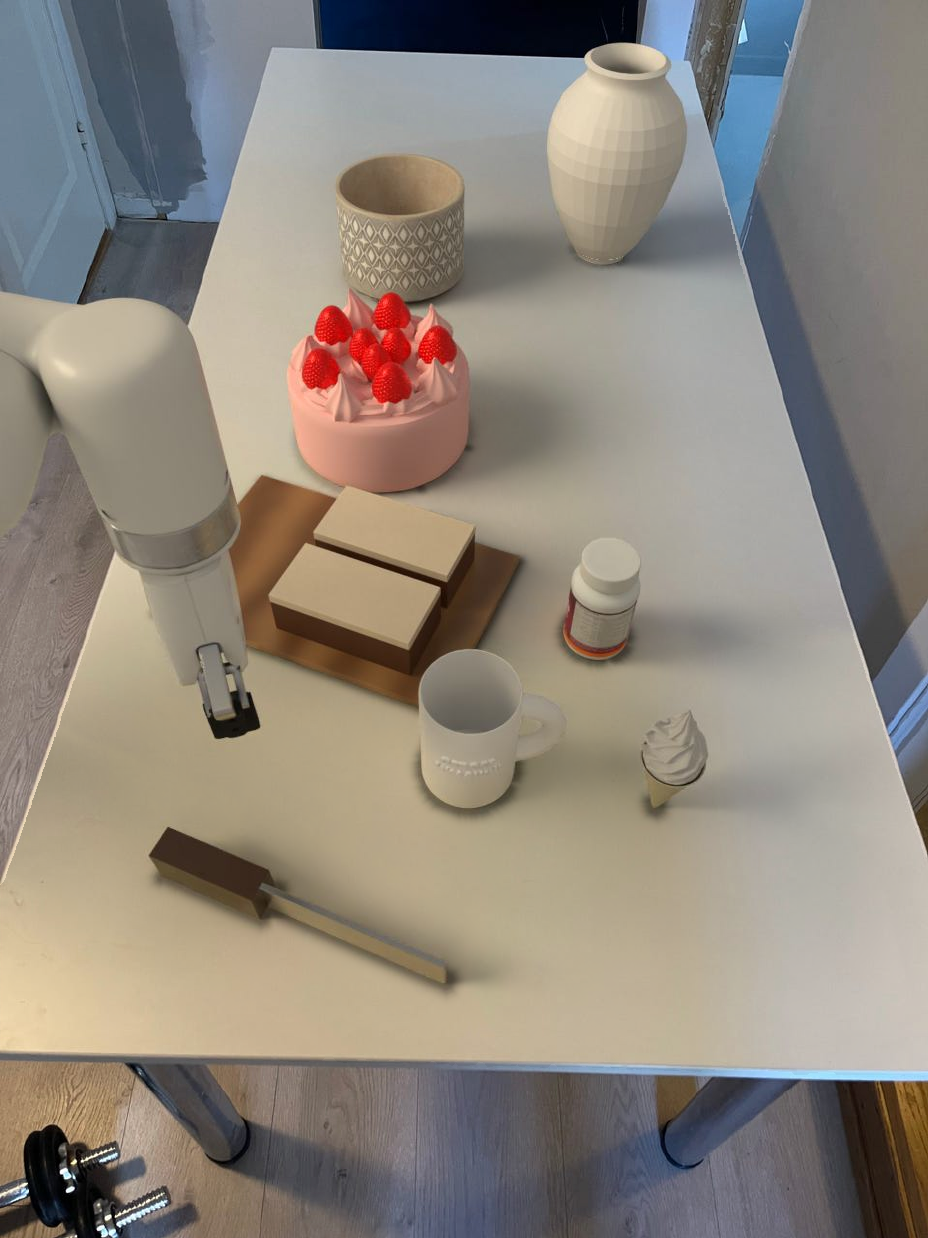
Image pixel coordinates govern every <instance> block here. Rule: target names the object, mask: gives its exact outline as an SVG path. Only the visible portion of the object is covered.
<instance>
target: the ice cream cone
mask: <svg viewBox="0 0 928 1238" xmlns="http://www.w3.org/2000/svg"><path fill="white" fill-rule="evenodd" d="M643 740H644V741H643V743H641V744H640V755H639V756H640V757H639V758H640V761H641V762H640V763H641V764H642V767H643V769H644V774H645V779H646V785H647V789H648V794H649V799H650V805H651V808H654V809H657V808H658V807H659V806H661V805H662V804H664V803H666V802H667V801H669V800H670V799H671V798H674V796H676V795H677V794H679V793H680V792H682V791H683V790H685V789H686V788H687V787H691V786H692V785H694V784H695V783H697V782H698V781H699V780H700V779H702V778H703V776H704V774H705V771H706V767H707V760H708V757H709V751H708V745H707V740H706V737H705V735H704V734H703V732H702V731H701V730H700V729H699V727H698V724H697V721H696V720H695V719H694V716H693V713H692V709H688V710H686V711H684V712H683V713H681V714H680V715H678V716H676V717H674V716H668V717H666V721H664V720H657V721H656V722H655V723H653V725H652V726H651V730H650V731H648V732H646V733H644V736H643Z"/></svg>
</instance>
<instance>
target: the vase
mask: <svg viewBox="0 0 928 1238" xmlns="http://www.w3.org/2000/svg"><path fill="white" fill-rule="evenodd" d="M583 61H584V64H585V67H586V71H585V72H584V73H582V74H581V75H580V76H579V77H577V79H575V80H574V82H572V84H570V86H568V87H567V88H566V89H565V90H564V91H563V93H562V94H561V96H560V98H559V100H558V102H557V104H556V105H555V107H554V109H553V112H552V113H551V119H550V122H549V125H548V130H547V140H546V155H547V163H548V172H549V178H550V186H551V192H552V198H553V202H554V205H555V207H556V211H557V214H558V217H559V220H560V222H561V225H562V227H563V230H564V232H565V235H566V237H567V239H568V241H569V243H570V244H571V246H572V247H573V249H574V250H575V253H576V256H577V257H579V258H580V259H581V260H583V261H585V262H587V263H590V264H594V265H600V266H602V265H603V266H605V265H606V266H608V265H614V264H617V263H619V262H620V261H622V260H623V259H624V258H625V256H626V255H627V254H629V253H630V252H631V251H632V250H633V249H634V248H635V247H636V246H637V245H638V244H639V243H640V242H641V240H642V238H643V237H644V236H645V235H646V233H647V232H648V230H649V229H650V227H651V226H652V224H653V223H654V221H655V220H656V219H657V217H658V215H659V214H660V212H661V211H662V209H663V207H664V205H665V204H666V202H667V200H668V197H669V195H670V193H671V190H672V188H673V186H674V184H675V181H676V179H677V176H678V175H679V172H680V170H681V167H682V165H683V163H684V157H685V151H686V146H687V142H688V141H687V139H688V124H687V119H686V113H685V109H684V105H683V101H681V99H680V97H679V96H678V94H677V93H676V91H675V90H674V88H673V86H672V85H671V84H670V82H669V80H668V79H667V78H666V76H667V74H668V73H669V71H670V70H671V68H672V64H673V63H672V61H671V59H670V58H669V56H667V55H666V54H664V53H663V52H661V51H659V50H657V49H655V48H653V47H650V46H648V45H643V44H639V43H632V42H613V43H607V44H604V45H600V46H598V47H597V46H596V47H595V48H592V49H591V50H589V51H587V53H586V54H585V55H584V57H583ZM577 251H578V252H577ZM583 255H584V256H583ZM586 256H587V257H586ZM622 256H623V257H622ZM588 257H589V258H588ZM619 257H620V258H619ZM591 258H593V259H591ZM616 258H618V259H616ZM596 259H598V260H596ZM609 259H613V260H609Z"/></svg>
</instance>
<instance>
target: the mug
mask: <svg viewBox="0 0 928 1238" xmlns="http://www.w3.org/2000/svg"><path fill="white" fill-rule="evenodd" d="M418 697H419V708H418V716H419V717H418V718H419V738H420V739H419V740H420V761H421V763H420V764H421V773H422V777H423V780H424V782H425V783H424V784H425V785H426V786H427V788H428V789H429V791H430V792H431V793H432V794H433V796H435V797H436V798H437V799H439V800H440V801H442V802H443V803H445V804H446V805H447V804H448V805H450V806H452V807H456V808H460V809H461V808H462V809H477V808H481V807H485V806H487V805H490V804H492V803H493V802H495V801H496V800H498V799H500V798H501V797H502V796H503V795H504V794H505V793H506V791H507V790H508V789H509V788H510V786H511V783H512V781H513V779H514V775H515V768H516V762H521V761H526V760H528V759H532V758H535V757H537V756H541V755H542V754H544V753H547V752H548V751H550V750H551V749H553V748H554V747H555V746H556V745H557V744H559V742H560V741H561V740H562V738H564V736H565V733H566V730H567V717H566V715H565V713H564V711H563V709H562V708H561V706H559V704H557V703H556V702H554V701H553V700H552V699H549V698H547V697H544V696H542V695H539V694H535V693H529V692H524V688H523V684H522V680H521V679H520V676H519V675H518V673H517V672H516V670H515V669H514V667H512V665H511V664H510V663H509V662H507V661H506V660H505V659H503V658H502V657H501V656H498V655H497V654H495V653H492V652H490V651H487V650H481V649H478V648H477V649H476V648H475V649H464V650H457V651H454V652H451V653H448V654H446V655H444V656H442V657H440V658H439V659H437V660H436V661H435V662H433V663H432V664H431V665H430V667H429V668H428V669H427V670H426V671H425V673H424V675H423V676H422V679H421V681H420V685H419V692H418ZM522 718H523V719H524V718H525V719H531V720H534V721H535V720H536V721H538V722H541V723H542V725H541V726H540V727H538V728H537V729H536V730H534V731H532V732H530V733H527V734H524V735H521V736H519V735H520V729H521V728H520V727H521V726H520V725H521V719H522Z"/></svg>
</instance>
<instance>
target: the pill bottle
mask: <svg viewBox="0 0 928 1238" xmlns="http://www.w3.org/2000/svg"><path fill="white" fill-rule="evenodd" d="M641 567H642V558H641V555H640V553H639V552H638V549H636V548H635V547H634V546H633V545H632V544H630V543H629V542H628V541H626V540H623V539H620V538H617V537H600V538H597V539H595V540H592V541H591V542H589V543H587V545H586V546H585V547H584V549H583V551H582V553H581V558H580V563H579V565H577V567H576V568H575V569H574V571H573V573H572V577H571V581H570V589H569V594H568V600H567V606H566V611H565V616H564V617H565V618H564V624H563V637H564V640H565V642H566V644H567V645H568V647H569V649H571V651H573V652H574V653H575V654H577V655H578V656H580V657H583V658H586V659H589V660H594V661H603V660H608V659H610V658H613V657H615V656H617V655H619V653H620V652H622V650H623V649H624V647H625V646H626V644H627V641H628V638H629V634H630V629H631V626H632V622H633V618H634V615H635V611H636V607H637V605H638V604H637V603H638V601H639V597H640V593H641V579H640V577H639V576H640V571H641Z"/></svg>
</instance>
